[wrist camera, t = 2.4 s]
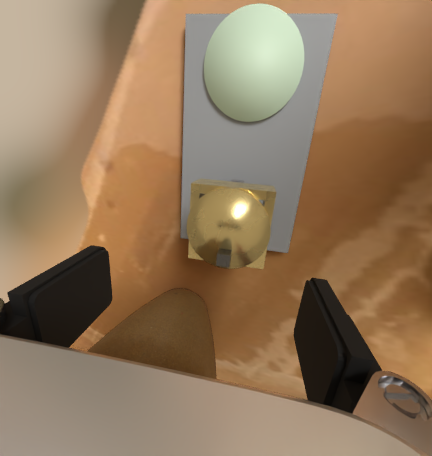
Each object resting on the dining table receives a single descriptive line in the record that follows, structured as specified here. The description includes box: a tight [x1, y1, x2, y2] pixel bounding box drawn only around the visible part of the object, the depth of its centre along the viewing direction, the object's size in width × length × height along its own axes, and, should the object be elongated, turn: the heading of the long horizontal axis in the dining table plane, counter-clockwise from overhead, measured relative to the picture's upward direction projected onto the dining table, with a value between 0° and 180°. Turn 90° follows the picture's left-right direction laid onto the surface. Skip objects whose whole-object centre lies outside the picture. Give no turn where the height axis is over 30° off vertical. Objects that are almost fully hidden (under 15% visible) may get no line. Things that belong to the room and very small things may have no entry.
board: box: [181, 4, 337, 253], centre depth 20 cm, size 22×13×9 cm, turn 176°
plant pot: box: [87, 288, 216, 379], centre depth 25 cm, size 15×15×16 cm
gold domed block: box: [187, 178, 277, 269], centre depth 18 cm, size 6×6×5 cm
